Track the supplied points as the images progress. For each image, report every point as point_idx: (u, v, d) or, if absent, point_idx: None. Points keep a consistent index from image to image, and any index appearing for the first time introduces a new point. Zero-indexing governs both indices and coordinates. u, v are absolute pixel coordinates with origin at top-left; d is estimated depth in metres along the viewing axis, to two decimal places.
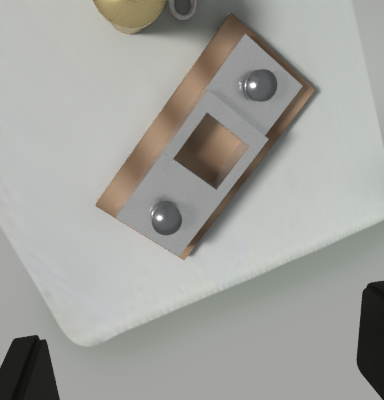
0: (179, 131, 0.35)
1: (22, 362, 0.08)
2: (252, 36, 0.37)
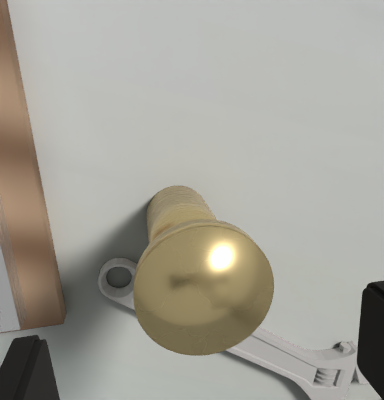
0: None
1: (22, 362, 0.08)
2: None
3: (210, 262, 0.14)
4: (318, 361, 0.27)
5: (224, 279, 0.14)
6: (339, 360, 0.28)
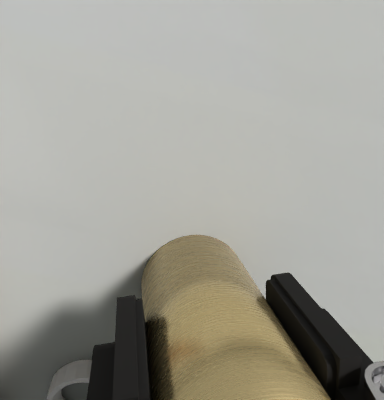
0: None
1: (133, 314, 0.10)
2: None
3: None
4: None
5: None
6: None
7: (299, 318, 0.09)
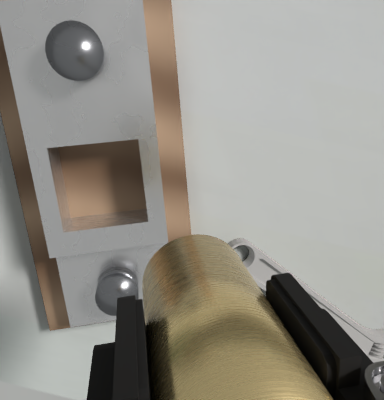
0: (159, 176, 0.24)
1: (133, 314, 0.10)
2: None
3: None
4: (375, 337, 0.35)
5: None
6: None
7: (299, 318, 0.09)
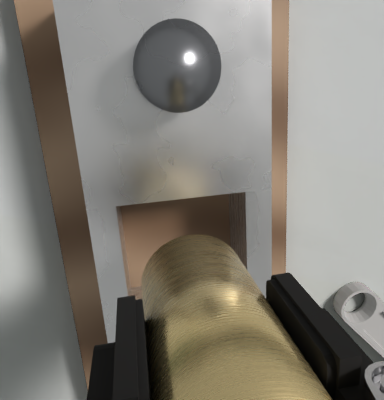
0: (269, 242, 0.17)
1: (133, 314, 0.10)
2: None
3: None
4: None
5: None
6: None
7: (299, 318, 0.09)
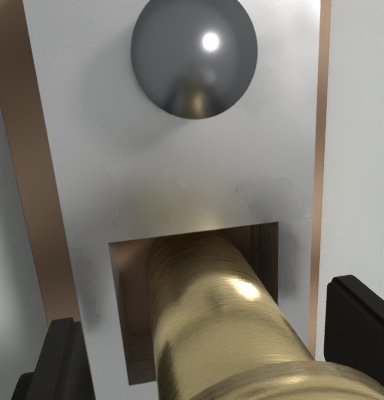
0: (306, 283, 0.13)
1: (63, 340, 0.09)
2: None
3: None
4: None
5: None
6: None
7: (376, 323, 0.09)
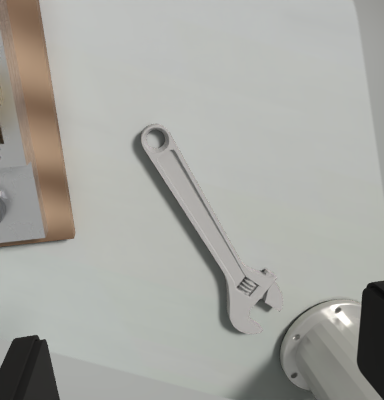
0: (11, 98, 0.25)
1: (22, 362, 0.08)
2: (37, 239, 0.32)
3: None
4: (248, 271, 0.37)
5: None
6: (261, 277, 0.38)
7: None
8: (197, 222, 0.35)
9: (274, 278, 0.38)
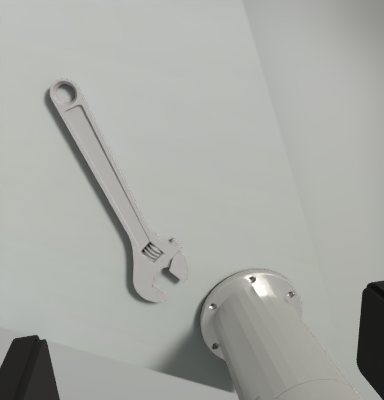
0: None
1: (22, 362, 0.08)
2: None
3: None
4: (153, 236, 0.38)
5: None
6: (166, 245, 0.39)
7: None
8: (103, 180, 0.36)
9: (179, 247, 0.39)
